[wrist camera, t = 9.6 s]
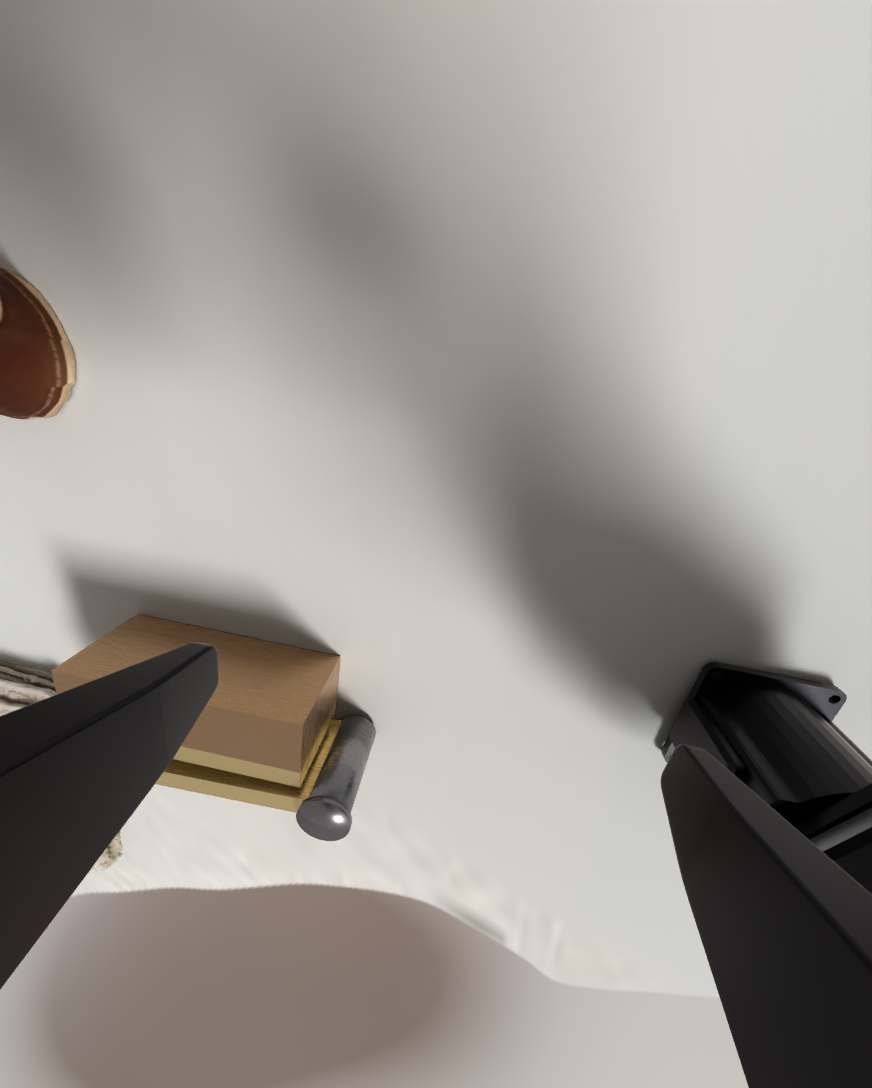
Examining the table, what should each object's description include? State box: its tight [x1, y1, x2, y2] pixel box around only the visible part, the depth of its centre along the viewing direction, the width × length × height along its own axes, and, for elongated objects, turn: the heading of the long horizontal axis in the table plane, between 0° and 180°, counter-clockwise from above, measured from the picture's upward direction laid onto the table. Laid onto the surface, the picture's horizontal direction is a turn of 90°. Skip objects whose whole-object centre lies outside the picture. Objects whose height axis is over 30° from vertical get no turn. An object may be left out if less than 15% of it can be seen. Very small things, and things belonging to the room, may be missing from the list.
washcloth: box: [0, 661, 122, 871], centre depth 28 cm, size 12×18×3 cm, turn 170°
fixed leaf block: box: [51, 614, 340, 788], centre depth 21 cm, size 12×4×5 cm, turn 81°
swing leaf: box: [155, 716, 376, 841], centre depth 22 cm, size 15×3×6 cm, turn 83°
